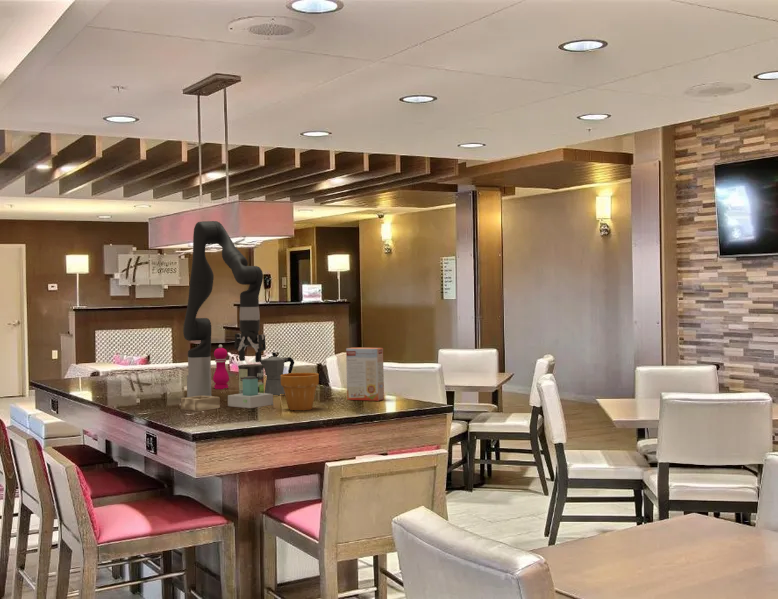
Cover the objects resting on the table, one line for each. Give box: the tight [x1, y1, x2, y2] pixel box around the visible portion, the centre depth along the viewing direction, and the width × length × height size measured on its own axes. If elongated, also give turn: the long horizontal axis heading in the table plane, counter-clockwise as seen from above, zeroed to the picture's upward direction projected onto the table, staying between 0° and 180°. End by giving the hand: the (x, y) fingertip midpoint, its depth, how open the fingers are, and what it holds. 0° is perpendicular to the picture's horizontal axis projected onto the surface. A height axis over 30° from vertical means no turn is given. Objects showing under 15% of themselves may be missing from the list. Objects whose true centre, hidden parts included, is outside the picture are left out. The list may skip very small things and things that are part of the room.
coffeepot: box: [259, 351, 295, 395], centre depth 386 cm, size 15×9×18 cm, turn 113°
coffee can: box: [237, 363, 265, 394], centre depth 370 cm, size 10×10×14 cm
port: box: [227, 393, 274, 409], centre depth 345 cm, size 12×12×5 cm
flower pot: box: [280, 372, 320, 411], centre depth 339 cm, size 14×14×13 cm
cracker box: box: [345, 347, 385, 402], centre depth 364 cm, size 14×6×21 cm, turn 65°
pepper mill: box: [212, 344, 230, 390], centre depth 413 cm, size 7×7×20 cm
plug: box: [243, 376, 258, 396], centre depth 345 cm, size 4×4×11 cm
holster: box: [180, 395, 221, 412], centre depth 338 cm, size 10×10×5 cm
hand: (250, 361), depth 345 cm, fingers open, 8 cm apart
